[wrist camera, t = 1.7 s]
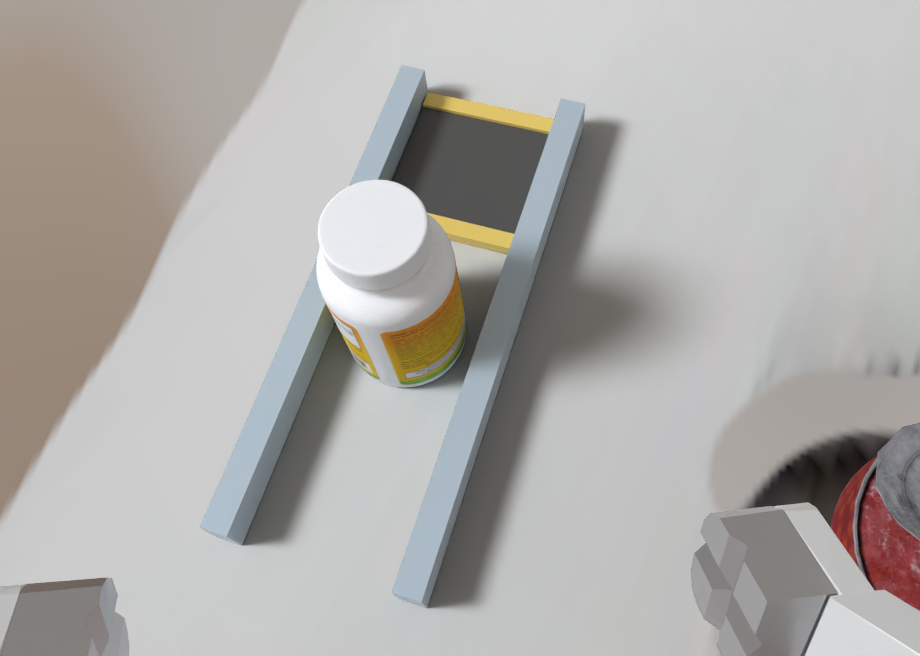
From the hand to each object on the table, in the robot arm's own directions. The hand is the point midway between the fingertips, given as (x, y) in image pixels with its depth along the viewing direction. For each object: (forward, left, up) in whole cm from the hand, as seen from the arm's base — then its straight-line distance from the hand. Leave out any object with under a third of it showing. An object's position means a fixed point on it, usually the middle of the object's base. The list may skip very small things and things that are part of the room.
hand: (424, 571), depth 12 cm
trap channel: (-13, -8, -23) cm, 28 cm away
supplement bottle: (-12, -8, -24) cm, 28 cm away
